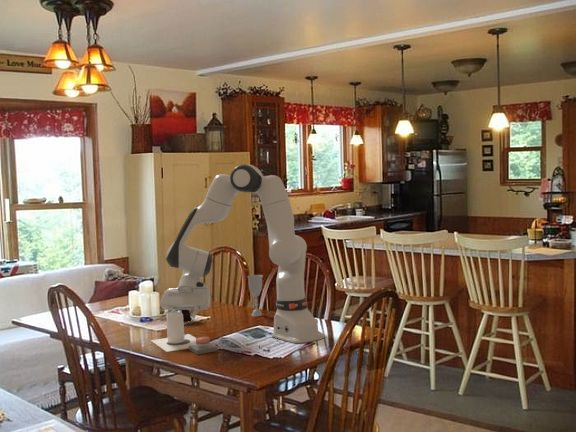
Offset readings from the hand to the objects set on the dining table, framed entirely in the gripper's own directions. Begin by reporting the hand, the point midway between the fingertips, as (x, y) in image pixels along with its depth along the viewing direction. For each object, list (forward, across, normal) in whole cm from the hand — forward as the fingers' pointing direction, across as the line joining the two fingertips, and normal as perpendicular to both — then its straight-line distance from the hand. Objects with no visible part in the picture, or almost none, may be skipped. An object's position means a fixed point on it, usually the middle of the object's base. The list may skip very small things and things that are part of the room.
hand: (181, 317), depth 250 cm
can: (+9, -1, +4) cm, 10 cm away
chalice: (-25, +18, +38) cm, 49 cm away
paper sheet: (+9, 0, +4) cm, 10 cm away
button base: (+16, +14, -3) cm, 21 cm away
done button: (+14, +14, -5) cm, 20 cm away
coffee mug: (-18, -11, +31) cm, 37 cm away
